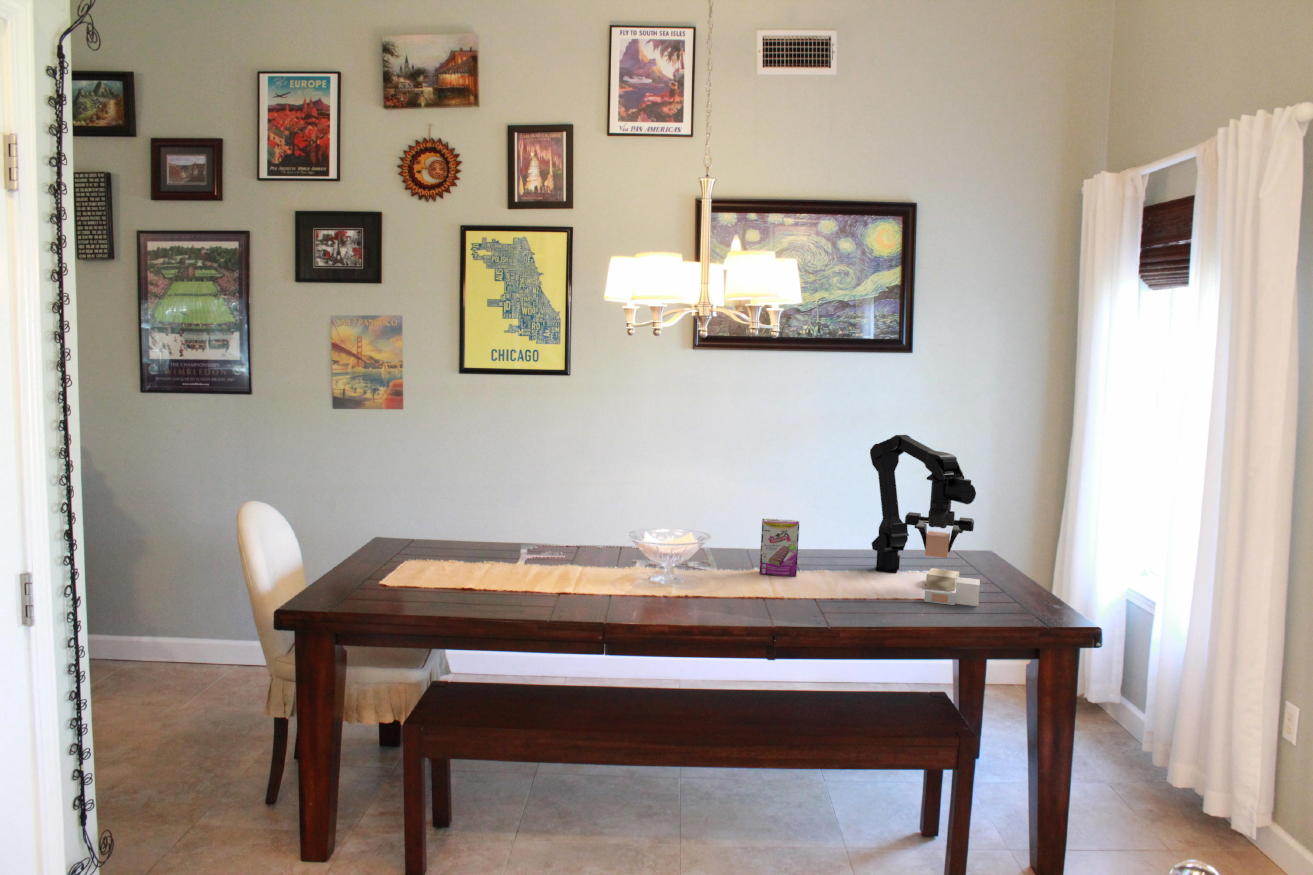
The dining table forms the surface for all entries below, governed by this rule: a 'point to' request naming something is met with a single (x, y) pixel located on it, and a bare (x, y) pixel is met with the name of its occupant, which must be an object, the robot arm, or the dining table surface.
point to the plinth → (939, 597)
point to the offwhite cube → (967, 591)
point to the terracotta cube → (937, 544)
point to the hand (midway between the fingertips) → (937, 550)
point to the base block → (942, 579)
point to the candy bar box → (779, 547)
